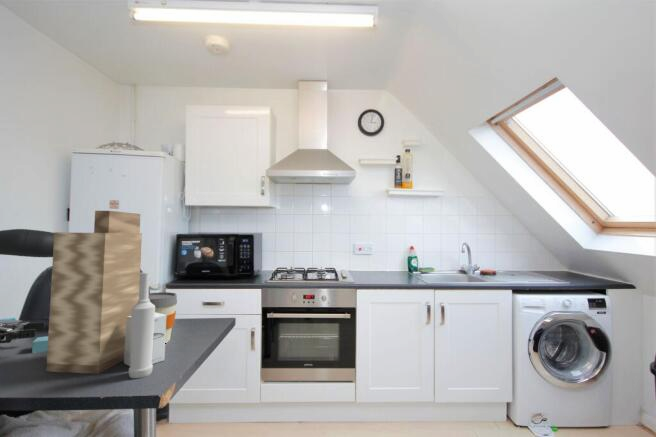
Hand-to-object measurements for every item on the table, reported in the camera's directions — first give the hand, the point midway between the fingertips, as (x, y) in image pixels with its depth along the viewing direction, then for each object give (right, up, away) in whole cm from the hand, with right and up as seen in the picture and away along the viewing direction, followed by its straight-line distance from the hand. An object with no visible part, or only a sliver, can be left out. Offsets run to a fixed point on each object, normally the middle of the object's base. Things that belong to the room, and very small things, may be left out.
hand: (40, 329), depth 95 cm
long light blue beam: (+10, -5, +5) cm, 12 cm away
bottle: (+40, -6, -17) cm, 43 cm away
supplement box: (+37, -6, -9) cm, 38 cm away
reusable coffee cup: (+31, -7, +6) cm, 32 cm away
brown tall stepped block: (+23, -6, -9) cm, 25 cm away
